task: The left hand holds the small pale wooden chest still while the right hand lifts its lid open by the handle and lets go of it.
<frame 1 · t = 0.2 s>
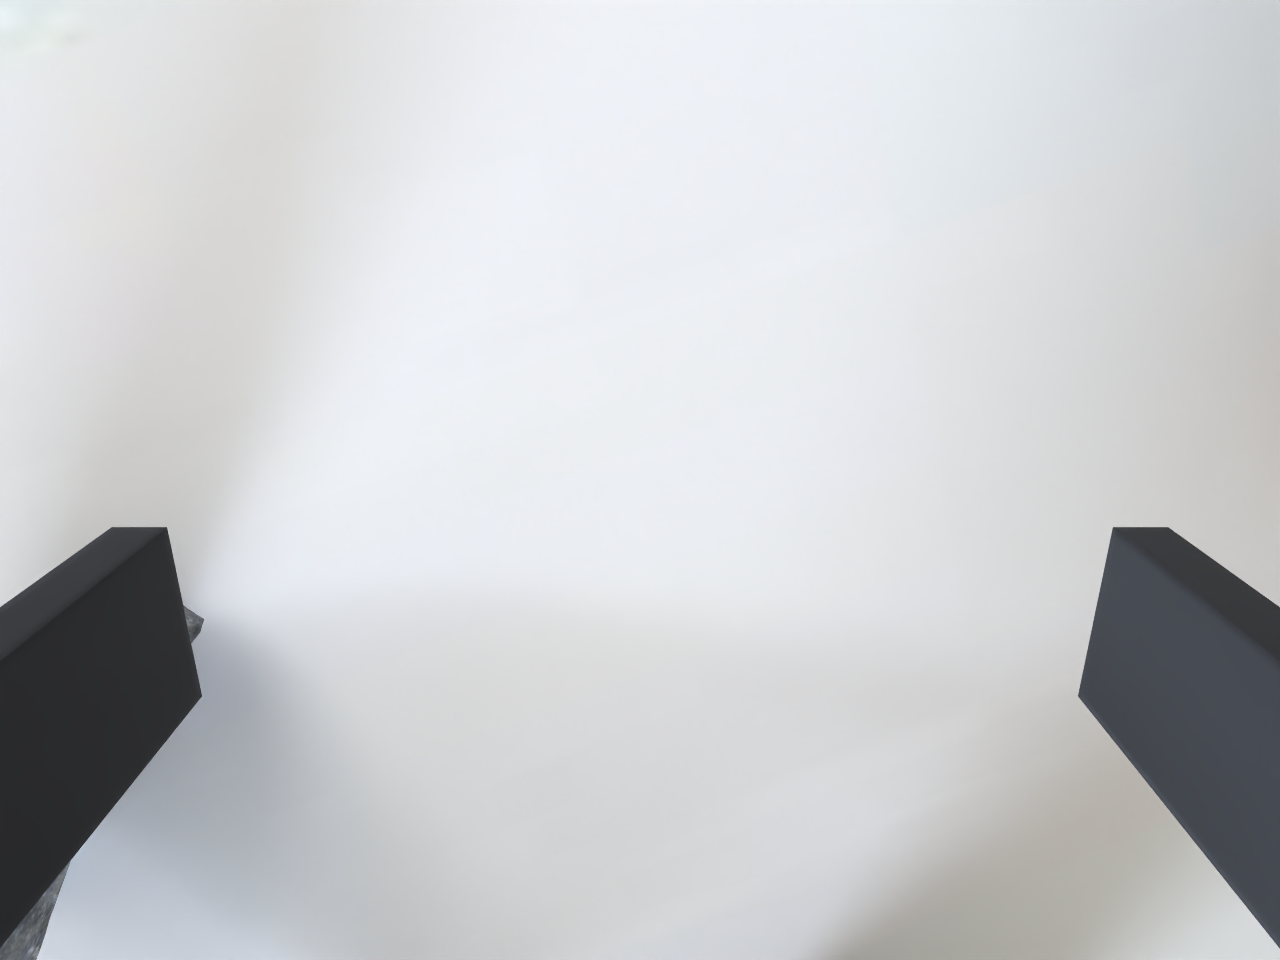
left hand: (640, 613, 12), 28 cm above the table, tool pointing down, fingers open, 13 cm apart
concrete block: (78, 736, 47), on the table
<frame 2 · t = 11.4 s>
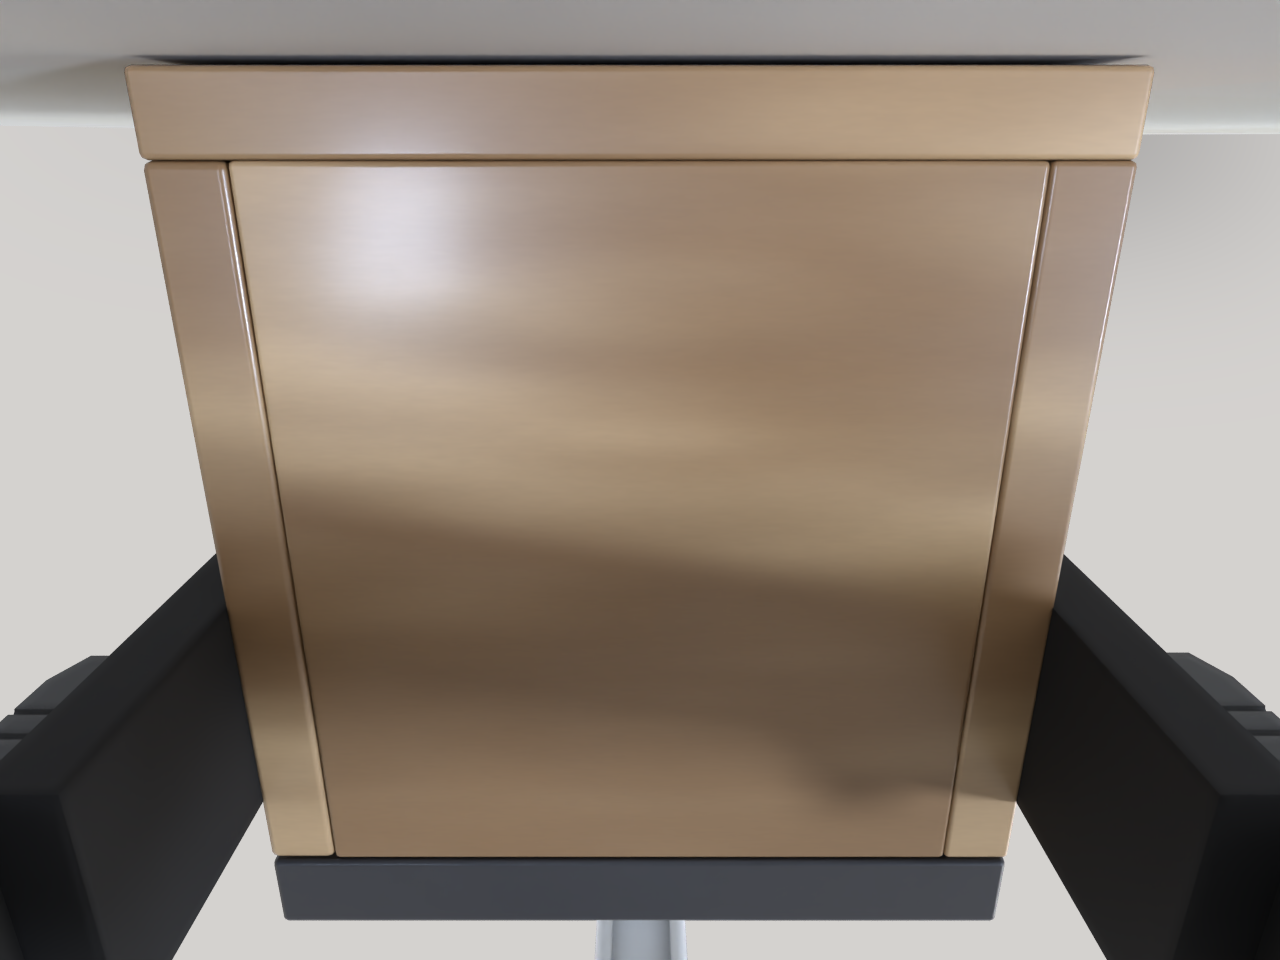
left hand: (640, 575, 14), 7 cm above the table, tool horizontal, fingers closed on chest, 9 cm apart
chest: (639, 104, 16), on the table, touching left hand
lid: (639, 727, 21), point 13 cm above the table, hinge at 0.0°
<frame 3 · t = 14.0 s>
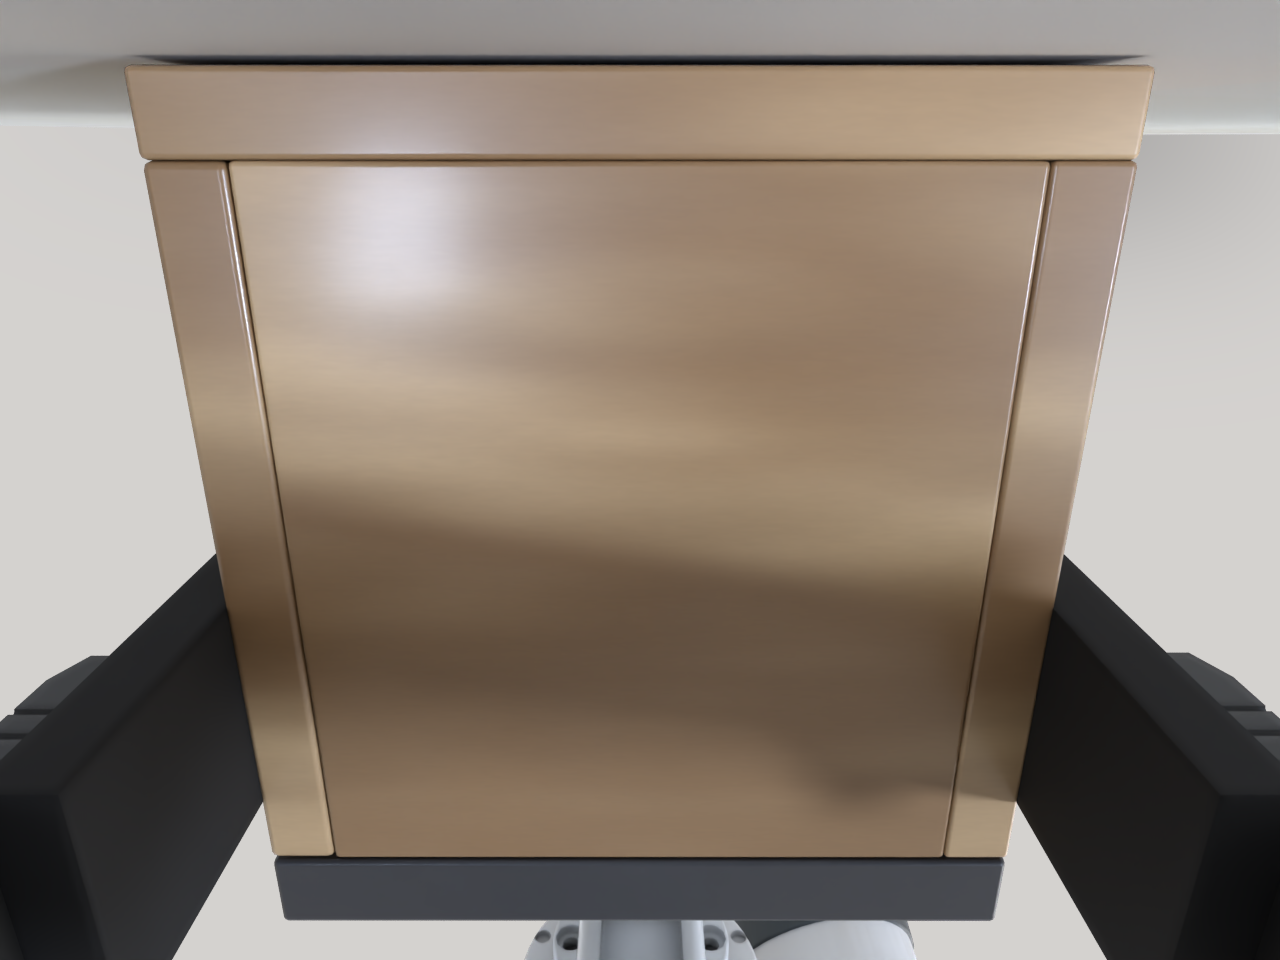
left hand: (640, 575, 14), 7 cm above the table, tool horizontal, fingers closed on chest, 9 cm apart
chest: (639, 104, 16), on the table, touching left hand
lid: (639, 726, 21), point 13 cm above the table, hinge at -0.1°, touching right hand
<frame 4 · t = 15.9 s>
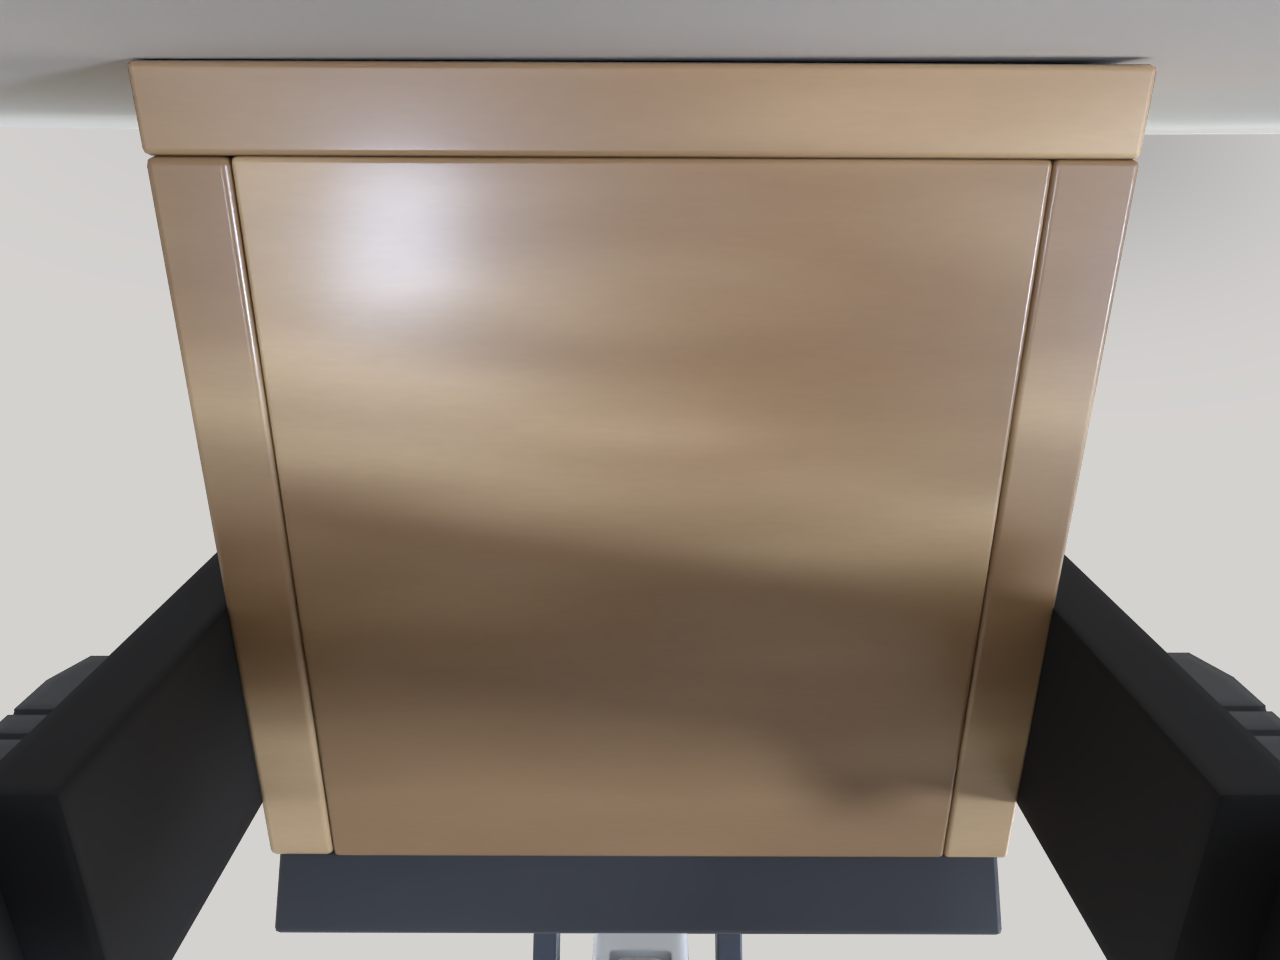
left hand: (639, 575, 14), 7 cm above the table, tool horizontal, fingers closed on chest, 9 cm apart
chest: (641, 105, 16), on the table, touching left hand
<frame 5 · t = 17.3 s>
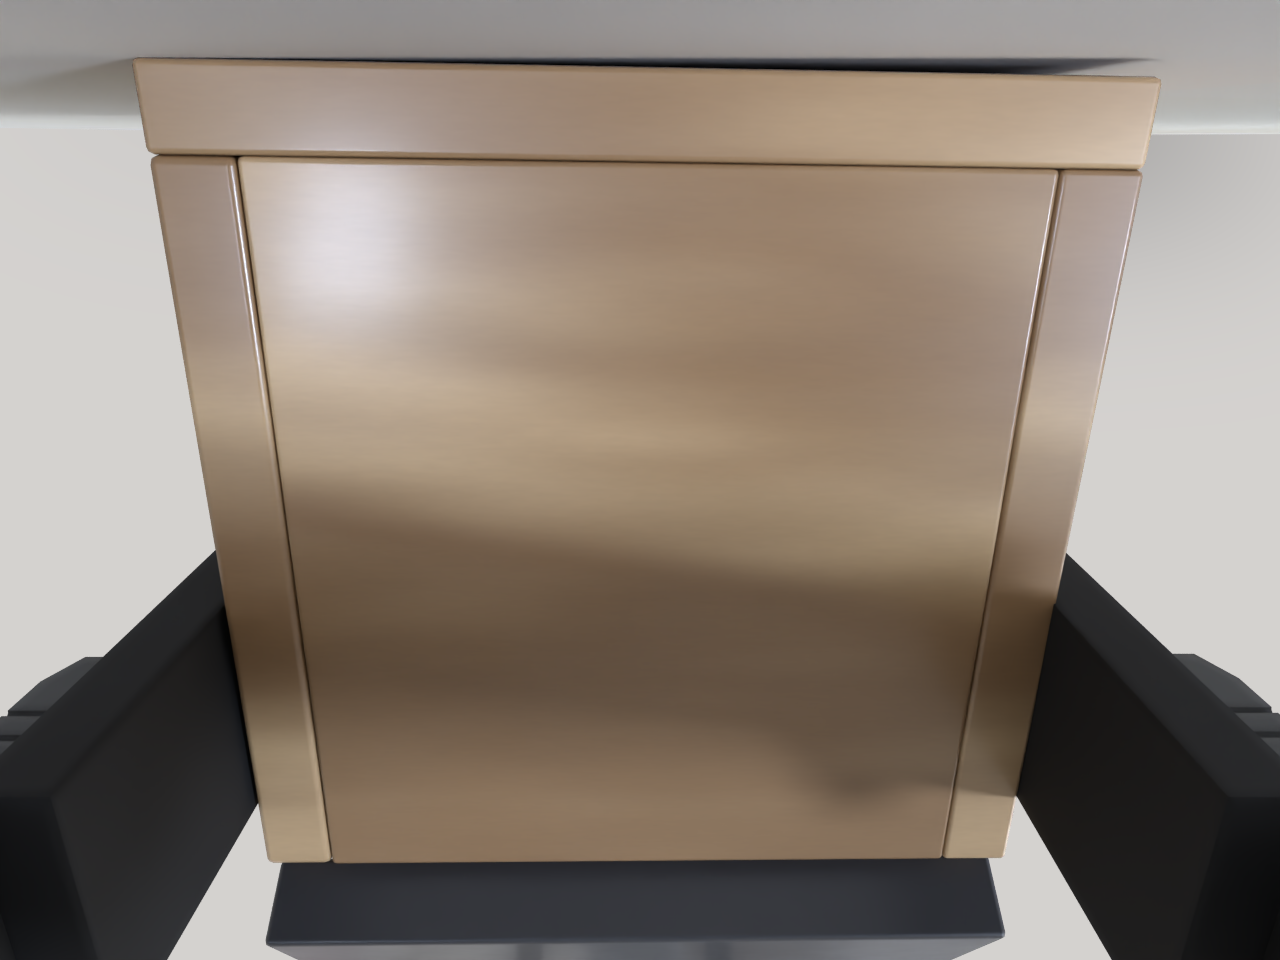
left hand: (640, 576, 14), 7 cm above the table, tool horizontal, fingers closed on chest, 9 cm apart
chest: (635, 107, 16), on the table, touching left hand
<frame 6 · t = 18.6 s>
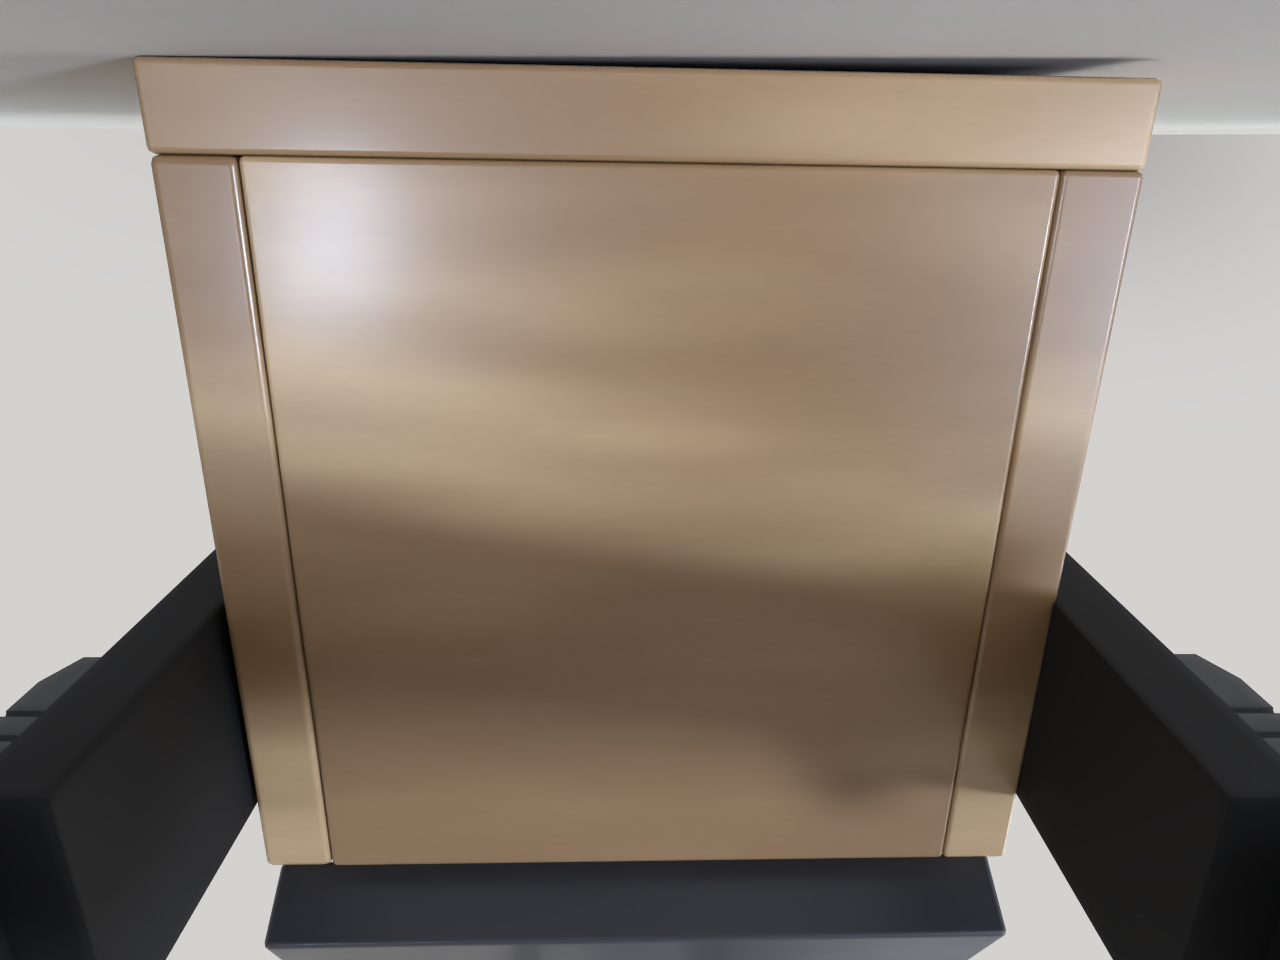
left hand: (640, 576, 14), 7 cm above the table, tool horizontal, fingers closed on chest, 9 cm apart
chest: (633, 108, 16), on the table, touching left hand
when the left hand's fingers open (7 cm above the table, at t = 22.0 s): chest stays where it is, on the table.
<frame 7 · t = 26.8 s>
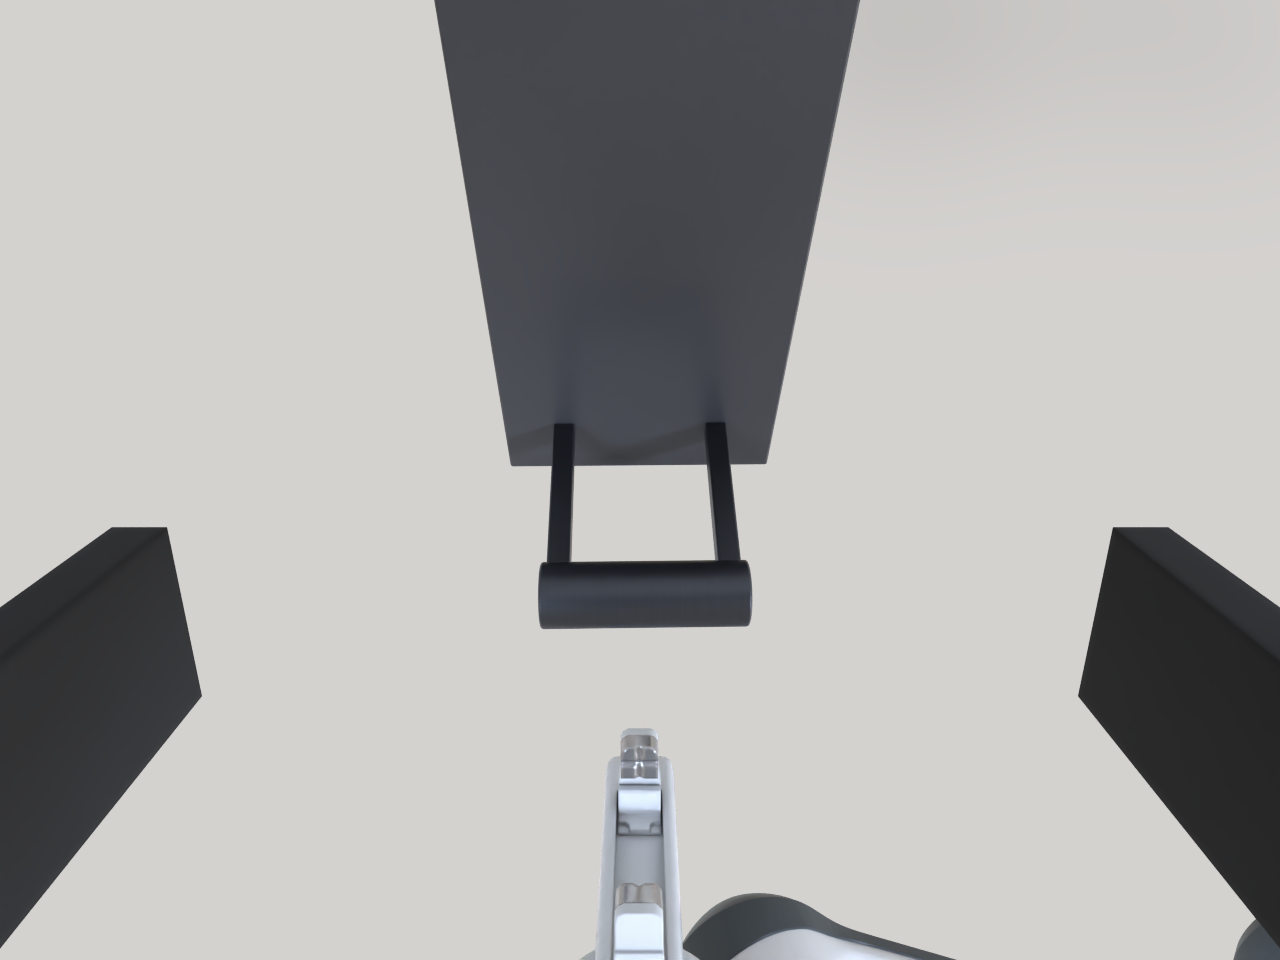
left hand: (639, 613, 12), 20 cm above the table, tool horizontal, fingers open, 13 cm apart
lid: (645, 359, 23), point 19 cm above the table, hinge at 58.5°
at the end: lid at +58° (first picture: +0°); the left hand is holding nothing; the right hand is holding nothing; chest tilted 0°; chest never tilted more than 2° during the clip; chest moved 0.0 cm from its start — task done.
